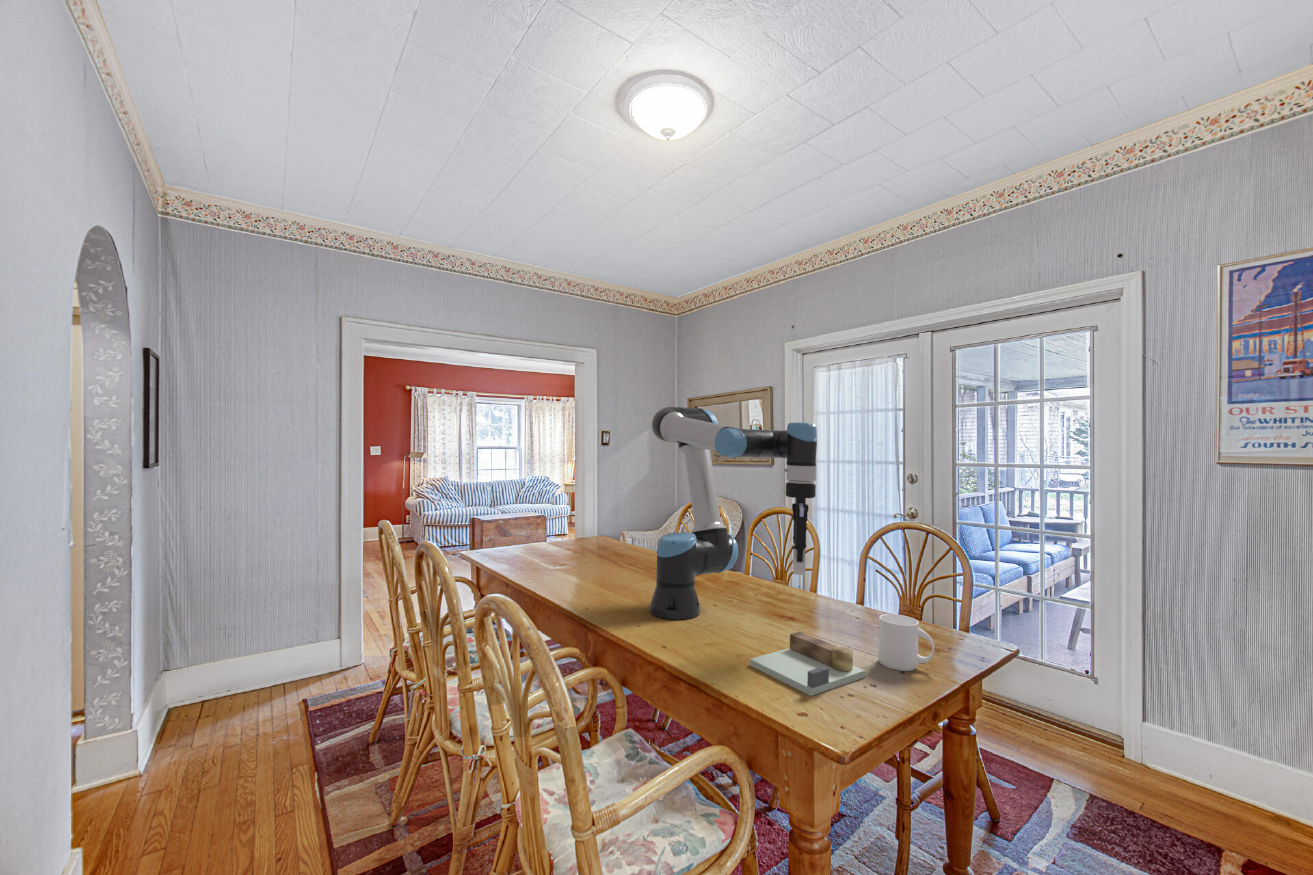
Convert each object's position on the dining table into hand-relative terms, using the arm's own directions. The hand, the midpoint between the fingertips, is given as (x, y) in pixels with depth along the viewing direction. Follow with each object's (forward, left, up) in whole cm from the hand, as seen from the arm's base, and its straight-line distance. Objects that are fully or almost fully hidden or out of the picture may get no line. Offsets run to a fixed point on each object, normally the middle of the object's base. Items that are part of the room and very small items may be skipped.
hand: (798, 571), depth 143 cm
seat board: (+13, -11, -19) cm, 25 cm away
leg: (+13, -6, -17) cm, 22 cm away
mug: (+23, +12, -19) cm, 32 cm away
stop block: (+21, -17, -17) cm, 32 cm away
